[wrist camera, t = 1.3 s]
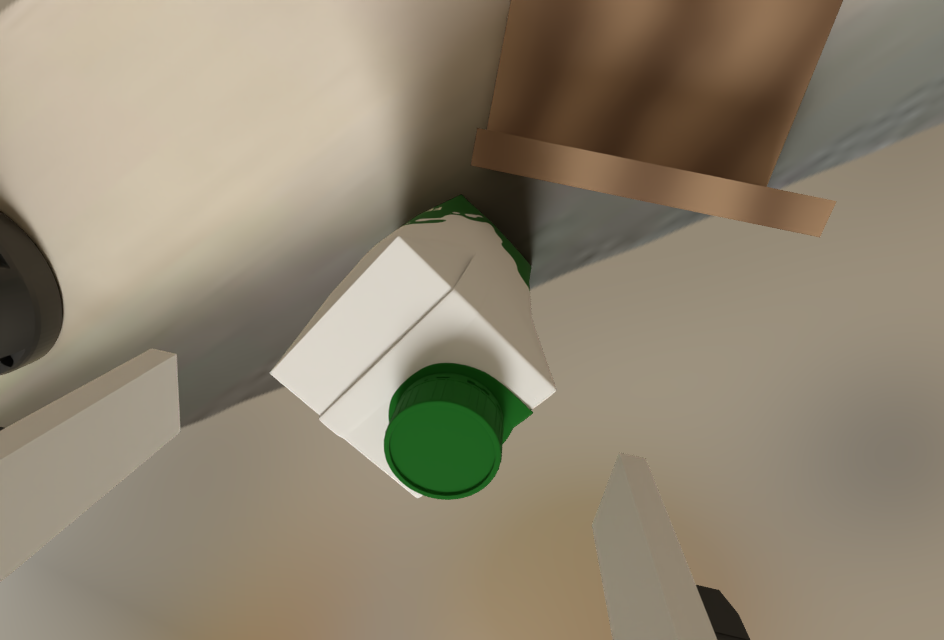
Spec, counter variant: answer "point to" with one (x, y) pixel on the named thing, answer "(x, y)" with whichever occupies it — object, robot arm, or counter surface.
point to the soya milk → (426, 353)
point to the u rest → (659, 101)
